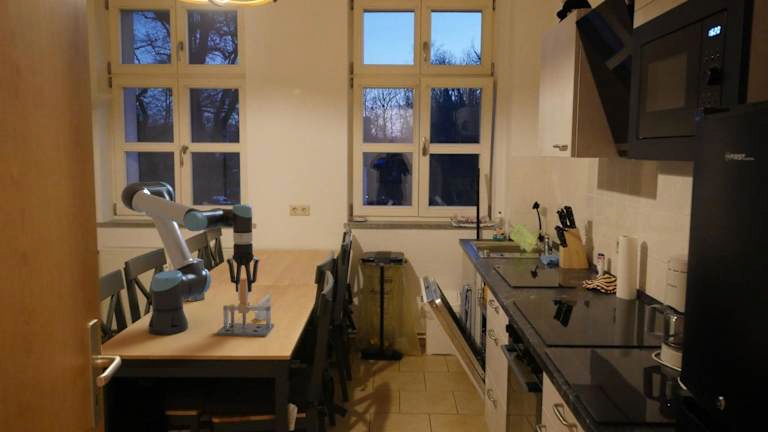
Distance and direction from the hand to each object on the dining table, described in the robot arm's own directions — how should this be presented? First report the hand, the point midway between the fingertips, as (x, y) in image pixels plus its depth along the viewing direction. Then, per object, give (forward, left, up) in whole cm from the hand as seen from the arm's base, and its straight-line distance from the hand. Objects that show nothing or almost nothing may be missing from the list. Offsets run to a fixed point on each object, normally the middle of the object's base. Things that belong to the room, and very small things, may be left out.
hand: (243, 299), depth 223 cm
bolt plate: (+1, -2, -13) cm, 13 cm away
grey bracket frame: (+1, 0, -11) cm, 11 cm away
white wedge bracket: (+3, +17, -13) cm, 22 cm away
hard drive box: (-42, +49, -13) cm, 66 cm away
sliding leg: (0, 0, -11) cm, 11 cm away
